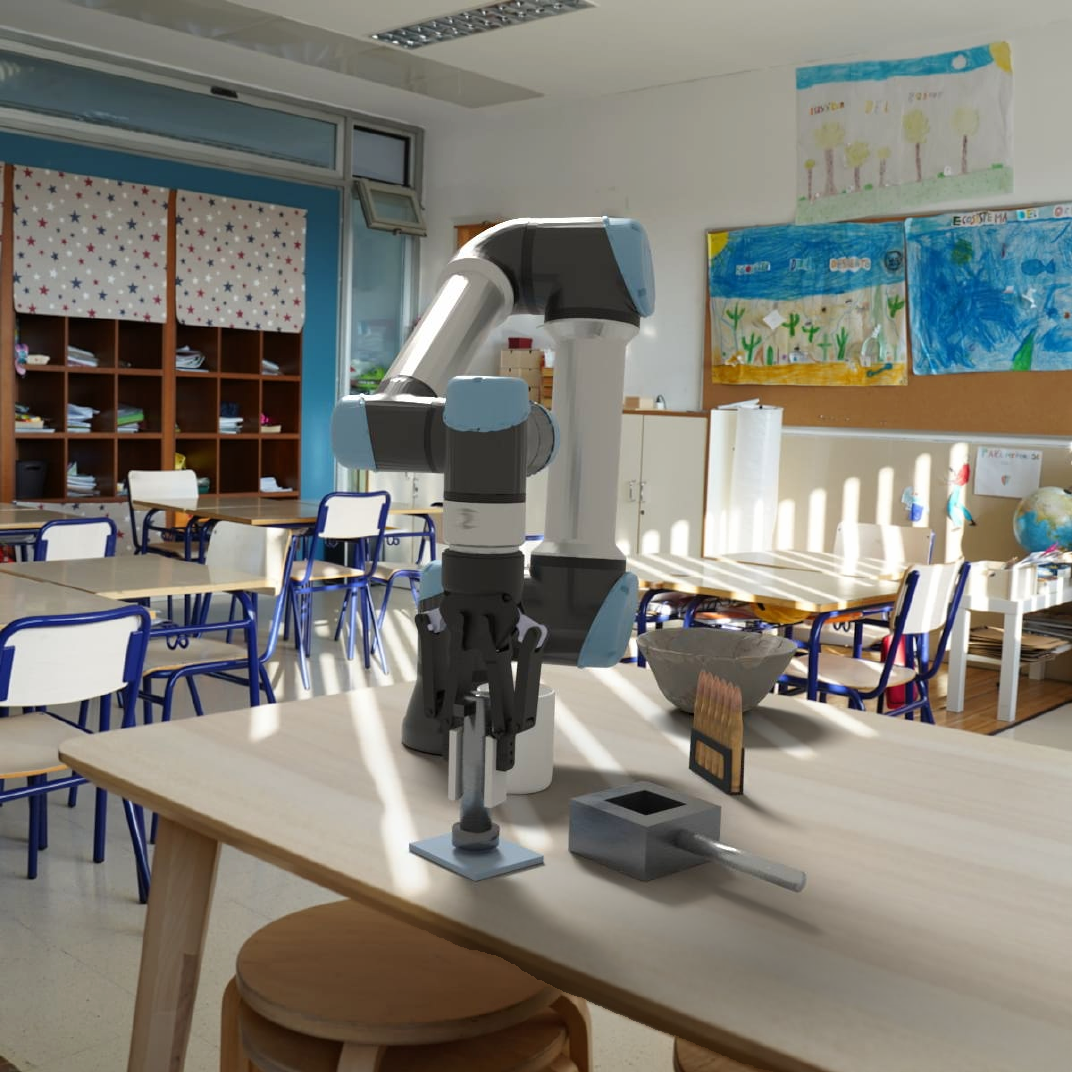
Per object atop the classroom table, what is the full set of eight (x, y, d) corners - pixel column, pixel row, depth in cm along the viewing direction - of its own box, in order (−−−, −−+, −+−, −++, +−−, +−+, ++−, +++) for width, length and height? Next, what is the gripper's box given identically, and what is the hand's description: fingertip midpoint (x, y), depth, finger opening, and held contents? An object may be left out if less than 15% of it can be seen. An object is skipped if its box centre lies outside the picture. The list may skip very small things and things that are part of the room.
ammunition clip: (744, 794, 140) (749, 687, 139) (728, 795, 140) (733, 687, 139) (702, 767, 150) (707, 667, 149) (688, 768, 150) (692, 667, 149)
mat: (408, 849, 120) (409, 843, 120) (476, 832, 125) (476, 826, 125) (475, 881, 112) (475, 874, 112) (543, 861, 118) (543, 855, 117)
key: (475, 828, 123) (478, 684, 121) (514, 836, 120) (519, 690, 119) (434, 849, 117) (438, 698, 115) (475, 858, 114) (479, 705, 113)
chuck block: (568, 850, 121) (569, 798, 120) (642, 829, 127) (644, 780, 127) (759, 929, 104) (762, 869, 103) (833, 900, 110) (837, 844, 110)
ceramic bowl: (796, 699, 188) (799, 632, 187) (790, 737, 166) (794, 661, 165) (646, 687, 193) (649, 622, 192) (621, 723, 171) (624, 649, 170)
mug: (521, 762, 150) (524, 672, 149) (565, 791, 139) (568, 694, 138) (453, 768, 147) (455, 677, 146) (491, 799, 136) (494, 700, 135)
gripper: (385, 544, 116) (381, 795, 119) (542, 558, 109) (534, 827, 111) (431, 537, 123) (426, 775, 125) (582, 551, 115) (573, 804, 118)
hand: (477, 799), depth 118 cm, fingers open, 3 cm apart
